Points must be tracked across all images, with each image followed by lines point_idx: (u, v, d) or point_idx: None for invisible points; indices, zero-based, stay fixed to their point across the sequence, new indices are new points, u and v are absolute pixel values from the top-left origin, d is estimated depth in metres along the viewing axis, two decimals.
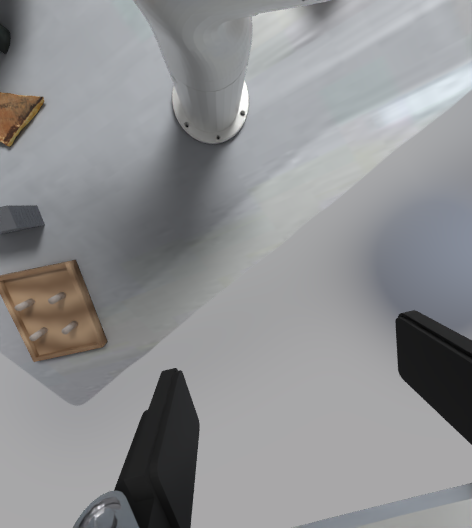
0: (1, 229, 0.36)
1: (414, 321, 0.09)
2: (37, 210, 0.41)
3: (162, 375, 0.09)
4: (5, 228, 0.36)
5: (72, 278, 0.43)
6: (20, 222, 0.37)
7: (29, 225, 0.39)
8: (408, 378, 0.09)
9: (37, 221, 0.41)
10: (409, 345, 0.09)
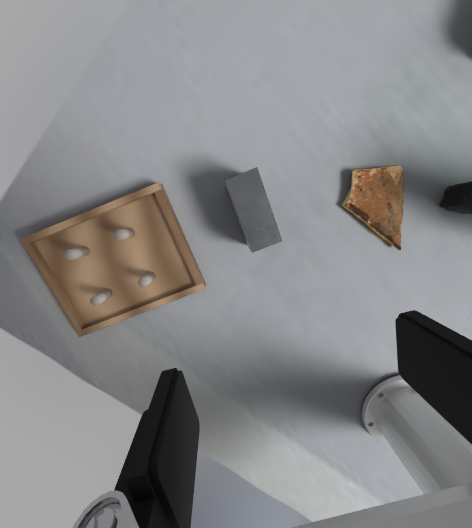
0: (246, 231, 0.25)
1: (413, 321, 0.09)
2: None
3: (162, 375, 0.09)
4: (249, 236, 0.25)
5: (181, 293, 0.30)
6: None
7: None
8: (408, 378, 0.09)
9: None
10: (409, 345, 0.09)
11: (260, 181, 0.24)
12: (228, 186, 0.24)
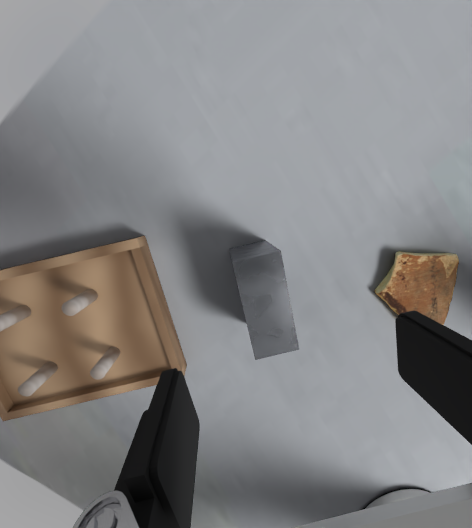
0: (252, 332, 0.17)
1: (413, 321, 0.09)
2: None
3: (162, 375, 0.09)
4: (254, 339, 0.18)
5: (151, 380, 0.22)
6: None
7: None
8: (408, 378, 0.09)
9: None
10: (409, 345, 0.09)
11: (282, 270, 0.17)
12: (235, 271, 0.16)
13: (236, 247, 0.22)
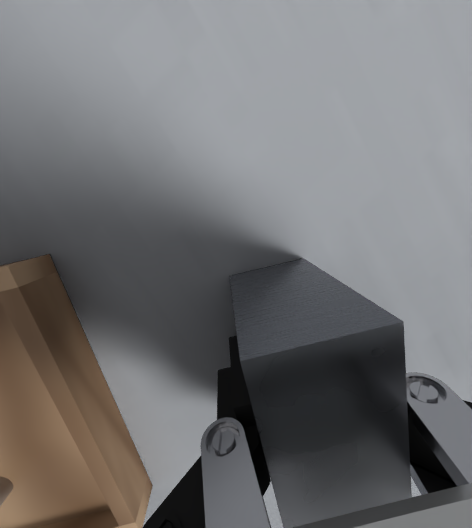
0: None
1: None
2: None
3: (231, 340, 0.10)
4: None
5: None
6: None
7: None
8: None
9: None
10: None
11: (399, 378, 0.05)
12: (252, 385, 0.05)
13: (244, 274, 0.10)
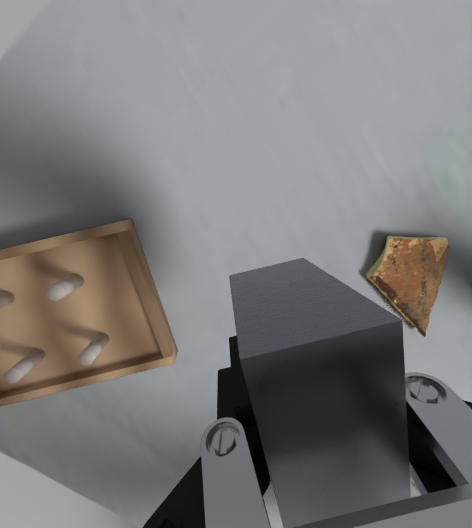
0: None
1: None
2: None
3: (231, 340, 0.10)
4: None
5: (141, 366, 0.22)
6: None
7: None
8: None
9: None
10: None
11: (398, 376, 0.05)
12: (252, 383, 0.05)
13: (243, 274, 0.10)
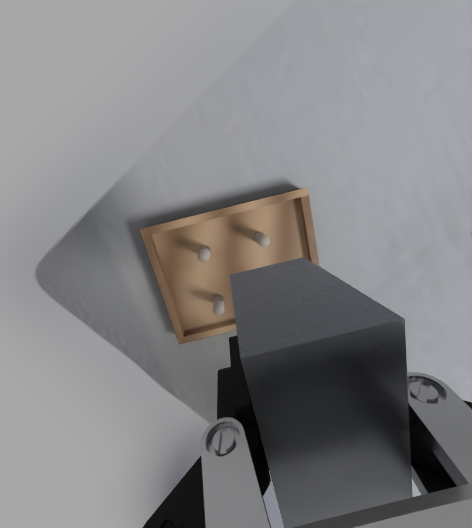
0: None
1: None
2: None
3: (231, 340, 0.10)
4: None
5: None
6: None
7: None
8: None
9: None
10: None
11: (400, 375, 0.05)
12: (253, 383, 0.05)
13: (244, 273, 0.10)
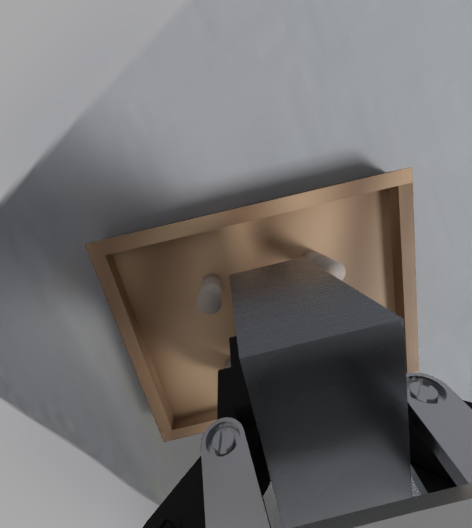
0: None
1: None
2: None
3: (231, 340, 0.10)
4: None
5: None
6: None
7: None
8: None
9: None
10: None
11: (400, 375, 0.05)
12: (252, 383, 0.05)
13: (243, 273, 0.10)
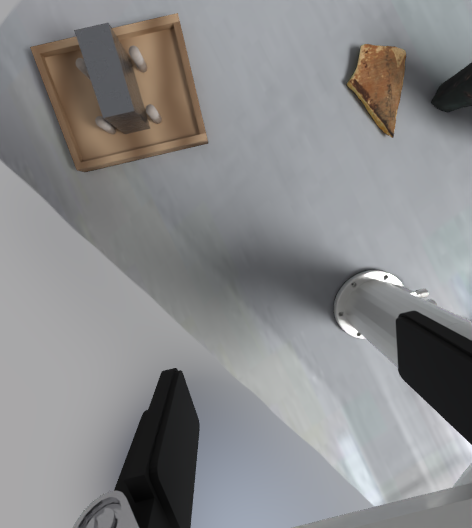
0: (97, 92, 0.25)
1: (413, 321, 0.09)
2: (143, 128, 0.31)
3: (162, 375, 0.09)
4: (100, 99, 0.25)
5: (184, 140, 0.31)
6: (114, 119, 0.26)
7: (115, 125, 0.28)
8: (408, 378, 0.09)
9: (126, 129, 0.30)
10: (409, 345, 0.09)
11: (111, 39, 0.24)
12: (78, 38, 0.23)
13: None
